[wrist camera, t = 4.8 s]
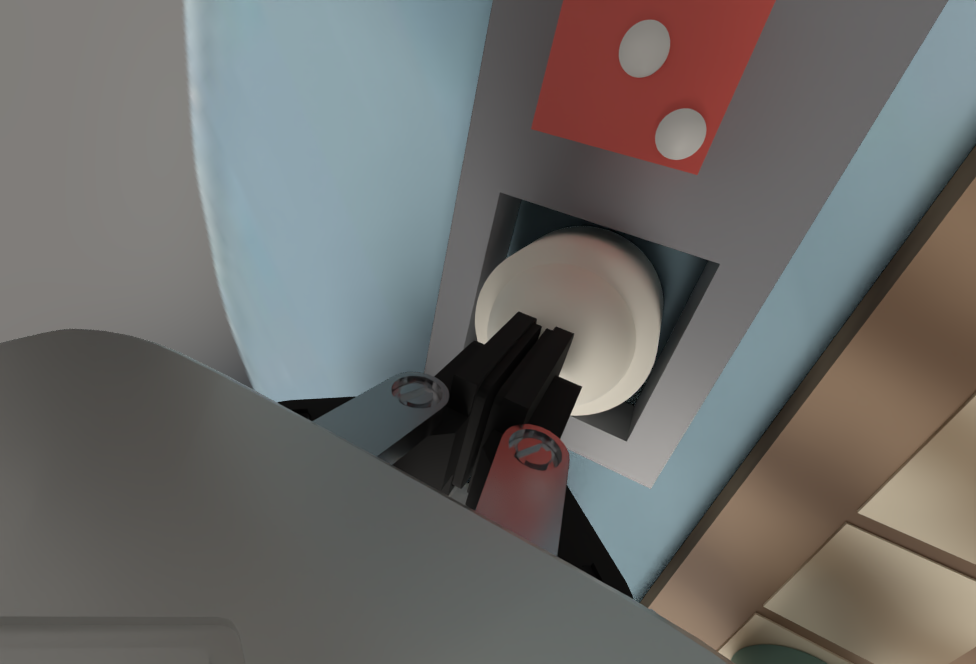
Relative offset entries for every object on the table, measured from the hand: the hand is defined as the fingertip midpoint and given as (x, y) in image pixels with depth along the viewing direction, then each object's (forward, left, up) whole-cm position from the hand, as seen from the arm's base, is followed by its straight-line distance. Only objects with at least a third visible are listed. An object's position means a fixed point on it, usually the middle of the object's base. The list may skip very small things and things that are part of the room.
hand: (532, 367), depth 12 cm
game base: (-3, 0, -6) cm, 7 cm away
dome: (0, 0, -5) cm, 5 cm away
